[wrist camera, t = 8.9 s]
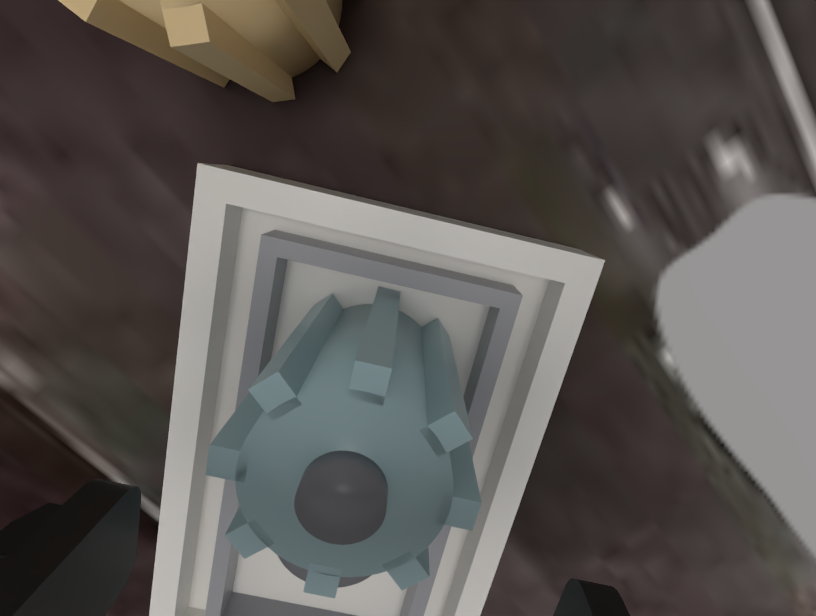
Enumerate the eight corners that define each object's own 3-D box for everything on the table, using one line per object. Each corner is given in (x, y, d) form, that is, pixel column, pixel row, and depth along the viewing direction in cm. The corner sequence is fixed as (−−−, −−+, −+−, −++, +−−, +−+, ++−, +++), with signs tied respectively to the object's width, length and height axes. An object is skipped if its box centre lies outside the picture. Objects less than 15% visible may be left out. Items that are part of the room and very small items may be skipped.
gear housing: (229, 165, 17) (197, 163, 14) (578, 248, 17) (605, 260, 15) (174, 600, 22) (145, 652, 19) (444, 651, 23) (447, 708, 20)
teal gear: (475, 309, 17) (523, 410, 9) (431, 458, 18) (444, 642, 11) (302, 268, 16) (213, 340, 9) (274, 424, 18) (180, 591, 11)
